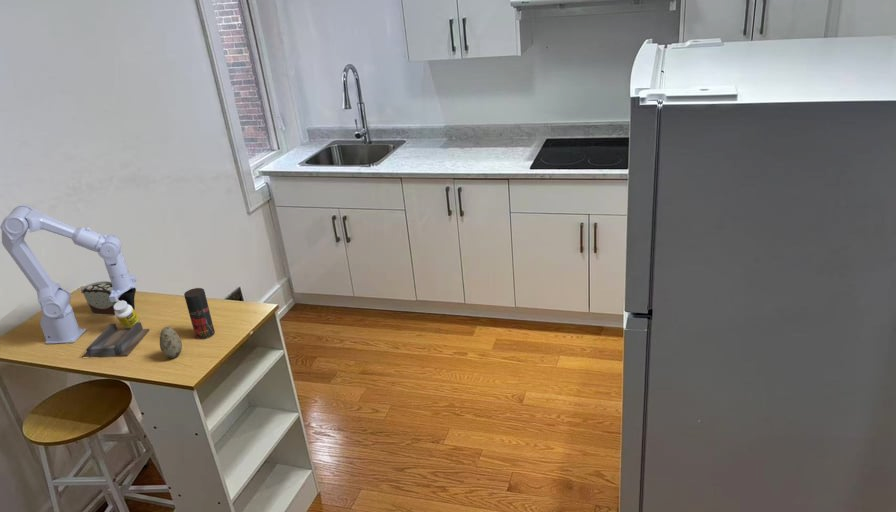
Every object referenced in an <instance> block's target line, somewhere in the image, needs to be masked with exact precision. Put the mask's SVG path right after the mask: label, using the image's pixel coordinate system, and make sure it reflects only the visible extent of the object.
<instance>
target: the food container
mask: <svg viewBox="0 0 896 512" xmlns="http://www.w3.org/2000/svg"><path fill="white" fill-rule="evenodd" d="M112 289H113V286H112V283H111V281H107V280H106V281H105V280H104V281H96V282H92V283H90V284H87V285H84V286H82V287H81V289H80V291H81V294H83V296H84V299H85V301H86V304H87V305H88V308H89V311H90V312H91V314H92V315H98V314H102V315H101V316H103V315H104V314H105V315H104V316H115V309H114V305H115V303H117V302H118V301H117V302H110V299H109V296H110V295H111V292H112Z"/></svg>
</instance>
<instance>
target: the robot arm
mask: <svg viewBox="0 0 896 512" xmlns="http://www.w3.org/2000/svg"><path fill="white" fill-rule="evenodd" d="M0 230H1V243H2V246H3V247H4V249H5V250H6V252H7V254H9V256H10V257H11V258H12V260H13V261H14V262H15V264H16V265H17V266H18V267H17V268H19V269H20V271H21V272H22V273H23V275H24V276H25V278H26V279H27V280H28V282H29V283H30V284H31V286H32V287H33V289H34V291H36V294H37V301H38V304H40V309H41V313H42V316H41V317H40V320H39V321H40V322H39V324H40V327H41V330H42V332H43V335H44V338H45V342H44V344H46V345H47V344H49V345H50V344H69V343H71V344H72V343H75V342H76V341H77V340H78V339H79V338H80V337H81V336H82V335H83V334H84V333H85V332H86V331H87V328H80V327H79V324H78V322H77V318H76V316H75V313H74V310H73V307H72V306H71V304H70V302H71V300H72V296H71V294H70V292H69V291H68V290H67V289H65V288H63V287H62V286H61V285H60V283H58V282H55V281H53V279H52V278H51V277H50V275H49V274H48V272H47V270H46V269H45V267H44V266H43V265H42V264H41V262H40V261H39V259H38V258H37V256H36V255H35V253H34V252H33V251H32V249H31V247H30V246H29V245H28V243H27V242H26V241H25V237H26V235H27V233H28V232H29V233H34V232H37V231H38V232H39V231H41V230H42V231H43V230H44V231H46V232H50V233H53V234H55V235H56V234H57V235H58V236H59V235H60V236H62V237H66V238H68V239H70V240H71V241H72V243H73V244H74V245H76V246H79V247H82V248H84V249H86V250H89V251H93V252H95V253H97V254H98V256H99V257H100V258H102V259H103V262H104V266H105V268H106V271H107V274H108V277H109V280H110V282H111V283H112V286H113V289H112V292H111V295H110V296H109V299H110V302H118V301H122V300H123V301H126V302H127V304H129V305H131V306H132V308H133V309H134V311H135V307H136V306H135V298H136V297H135V296H136V292H137V288H136V287H137V281H138V276H137V275H136V274H135V275H132V274H131V275H130V272H129V269H128V268H129V267H128V265H127V263H126V260H125V257H124V255H123V252H122V250H121V249H122V241H121V240H120V238H118V237H117V236H116V235H114V234H108V235H107V234H105V233H104V234H102V233H100V232H97V231H94V230H92V228H91V227H89V226H86V227H85V226H81V227H78V228H76V227H74V226H72V225H71V224H67V223H65V222H63V221H60V220H58V219H56V218H54V217H52V216H49V215H48V214H45V213H43V212H41V211H40V210H39V209H36V208H31V207H30V206H28V205H24V204H21V205H17V206H15V207H14V208H13V210H12V211H11V212H10V213H9V214H8V215H7V216H6V217H4V219H3V221H2V222H1V224H0ZM28 230H29V231H28Z"/></svg>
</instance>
